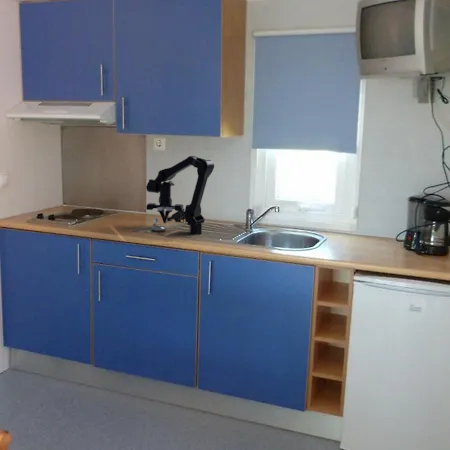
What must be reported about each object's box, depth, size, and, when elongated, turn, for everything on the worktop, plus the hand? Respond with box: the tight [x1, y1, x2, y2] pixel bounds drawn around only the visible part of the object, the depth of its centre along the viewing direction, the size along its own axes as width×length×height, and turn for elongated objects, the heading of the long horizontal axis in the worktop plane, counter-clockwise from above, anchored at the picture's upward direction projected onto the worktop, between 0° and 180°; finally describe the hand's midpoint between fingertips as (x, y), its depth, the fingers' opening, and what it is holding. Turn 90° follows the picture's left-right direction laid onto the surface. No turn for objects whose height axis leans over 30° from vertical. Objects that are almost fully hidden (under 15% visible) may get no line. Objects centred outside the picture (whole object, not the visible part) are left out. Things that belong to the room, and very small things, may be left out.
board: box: [129, 225, 182, 237], centre depth 279 cm, size 22×16×1 cm
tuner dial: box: [151, 217, 167, 232], centre depth 279 cm, size 12×7×5 cm, turn 21°
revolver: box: [166, 208, 187, 224], centre depth 306 cm, size 3×18×12 cm
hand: (164, 223), depth 284 cm, fingers closed
